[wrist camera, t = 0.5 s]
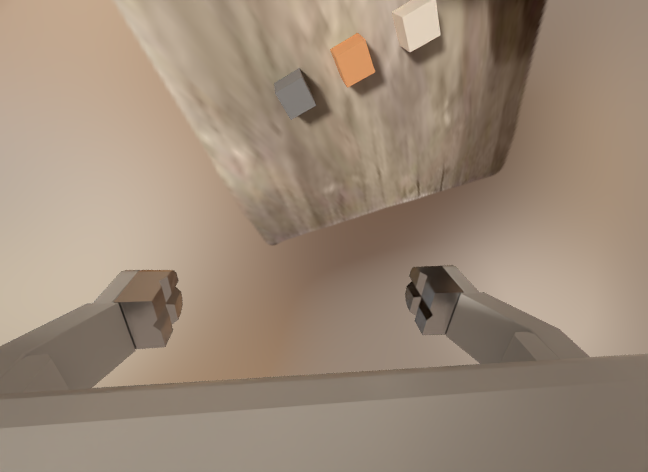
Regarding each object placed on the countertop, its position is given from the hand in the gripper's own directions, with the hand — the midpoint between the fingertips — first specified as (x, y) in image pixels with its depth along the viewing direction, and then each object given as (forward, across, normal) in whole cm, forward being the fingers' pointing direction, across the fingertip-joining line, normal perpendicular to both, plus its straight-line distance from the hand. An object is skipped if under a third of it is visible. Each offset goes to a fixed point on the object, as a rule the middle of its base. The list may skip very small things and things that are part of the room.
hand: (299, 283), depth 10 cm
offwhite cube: (+48, -19, -16) cm, 54 cm away
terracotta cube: (+49, -10, -11) cm, 51 cm away
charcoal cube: (+50, -1, -5) cm, 50 cm away
